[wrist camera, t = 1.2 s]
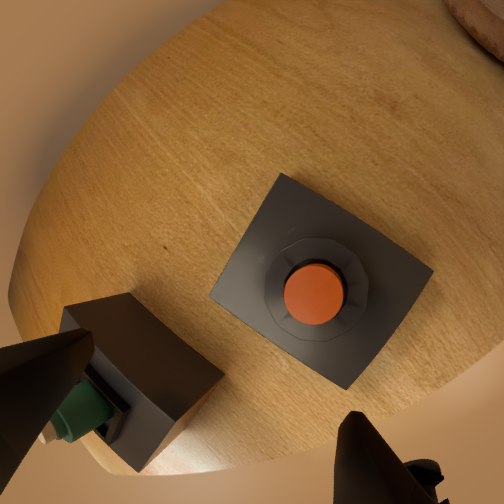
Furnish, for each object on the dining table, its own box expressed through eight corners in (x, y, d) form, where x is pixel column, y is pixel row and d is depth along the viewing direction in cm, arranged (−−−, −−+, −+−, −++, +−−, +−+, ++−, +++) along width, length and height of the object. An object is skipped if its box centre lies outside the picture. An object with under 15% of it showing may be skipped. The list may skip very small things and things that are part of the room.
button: (353, 282, 15) (355, 287, 14) (323, 326, 16) (320, 336, 14) (308, 252, 16) (304, 253, 14) (279, 297, 17) (272, 303, 15)
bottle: (117, 404, 16) (53, 442, 10) (108, 426, 17) (53, 460, 11) (86, 371, 17) (21, 398, 11) (80, 395, 18) (24, 422, 12)
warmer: (225, 373, 22) (167, 430, 14) (182, 431, 24) (131, 479, 16) (128, 291, 25) (53, 308, 17) (104, 359, 27) (44, 384, 19)
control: (425, 268, 17) (443, 274, 13) (346, 377, 19) (345, 404, 15) (287, 179, 20) (273, 165, 16) (220, 291, 22) (195, 301, 18)
